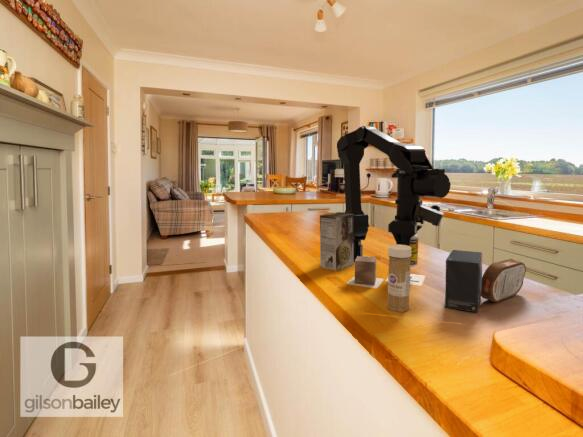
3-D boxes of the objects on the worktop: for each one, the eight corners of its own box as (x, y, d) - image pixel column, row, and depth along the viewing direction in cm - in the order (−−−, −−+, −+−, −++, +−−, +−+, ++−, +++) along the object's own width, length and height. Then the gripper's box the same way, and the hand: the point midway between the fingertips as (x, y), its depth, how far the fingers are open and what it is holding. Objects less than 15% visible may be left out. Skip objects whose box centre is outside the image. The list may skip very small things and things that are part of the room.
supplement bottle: (408, 269, 87) (409, 229, 85) (391, 264, 91) (391, 226, 90) (422, 265, 90) (423, 227, 88) (404, 261, 94) (405, 224, 93)
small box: (479, 313, 68) (480, 262, 67) (444, 308, 71) (444, 259, 70) (482, 296, 77) (483, 251, 76) (451, 292, 80) (451, 249, 79)
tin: (510, 289, 82) (515, 255, 80) (525, 293, 79) (530, 258, 78) (476, 302, 74) (480, 264, 72) (491, 307, 71) (496, 268, 70)
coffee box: (337, 261, 110) (337, 211, 108) (354, 264, 105) (354, 213, 103) (319, 267, 104) (318, 214, 101) (336, 271, 99) (336, 216, 97)
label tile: (385, 281, 89) (385, 280, 89) (392, 272, 97) (392, 271, 97) (421, 286, 85) (421, 285, 85) (425, 276, 93) (425, 275, 93)
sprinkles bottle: (383, 309, 72) (384, 246, 70) (392, 302, 75) (393, 242, 73) (404, 314, 69) (406, 249, 67) (413, 307, 72) (415, 245, 70)
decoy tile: (345, 284, 88) (345, 283, 88) (355, 275, 95) (355, 275, 95) (376, 288, 84) (376, 288, 84) (384, 279, 91) (384, 278, 91)
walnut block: (354, 283, 88) (354, 260, 87) (357, 277, 92) (357, 256, 92) (374, 285, 86) (374, 262, 85) (376, 279, 91) (376, 257, 90)
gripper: (439, 199, 76) (436, 267, 78) (445, 193, 92) (442, 249, 95) (388, 198, 81) (386, 261, 83) (402, 192, 98) (401, 246, 100)
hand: (406, 254), depth 90 cm, fingers closed on supplement bottle, 6 cm apart
